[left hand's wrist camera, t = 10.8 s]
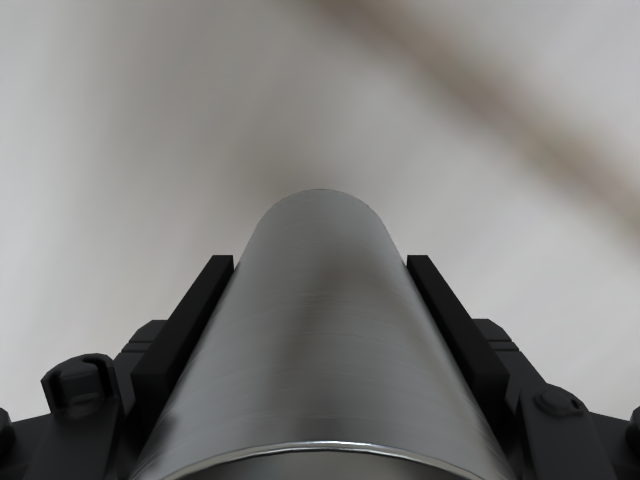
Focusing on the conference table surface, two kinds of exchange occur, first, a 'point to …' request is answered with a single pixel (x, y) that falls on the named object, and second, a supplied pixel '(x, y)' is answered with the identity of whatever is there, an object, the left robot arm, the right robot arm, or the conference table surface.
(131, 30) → the conference table surface
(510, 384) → the left robot arm
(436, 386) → the can
